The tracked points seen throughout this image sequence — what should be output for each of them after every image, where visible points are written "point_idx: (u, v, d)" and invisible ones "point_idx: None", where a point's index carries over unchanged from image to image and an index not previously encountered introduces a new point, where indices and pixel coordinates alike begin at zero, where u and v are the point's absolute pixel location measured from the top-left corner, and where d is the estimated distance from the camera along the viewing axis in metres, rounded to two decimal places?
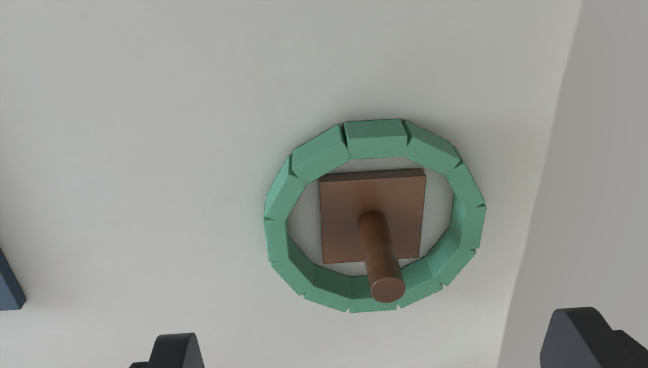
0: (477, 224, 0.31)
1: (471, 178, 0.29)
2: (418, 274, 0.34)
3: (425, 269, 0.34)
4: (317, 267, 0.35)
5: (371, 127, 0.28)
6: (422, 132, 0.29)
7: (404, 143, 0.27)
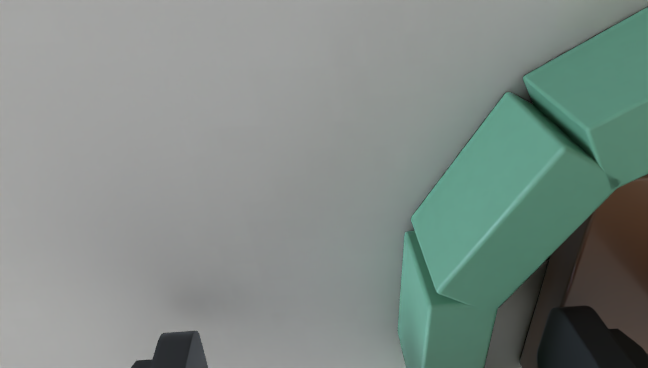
0: None
1: None
2: None
3: None
4: None
5: None
6: None
7: None
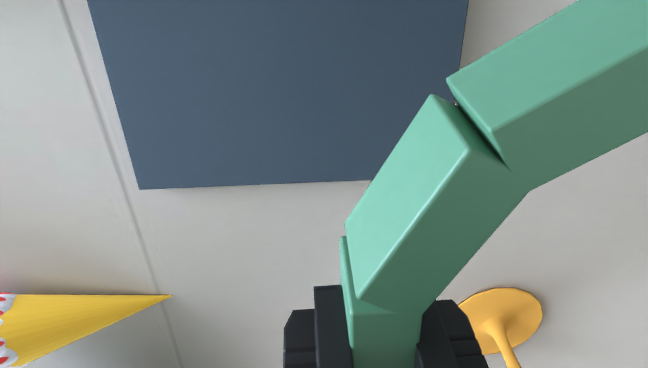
0: None
1: None
2: None
3: None
4: None
5: None
6: None
7: None
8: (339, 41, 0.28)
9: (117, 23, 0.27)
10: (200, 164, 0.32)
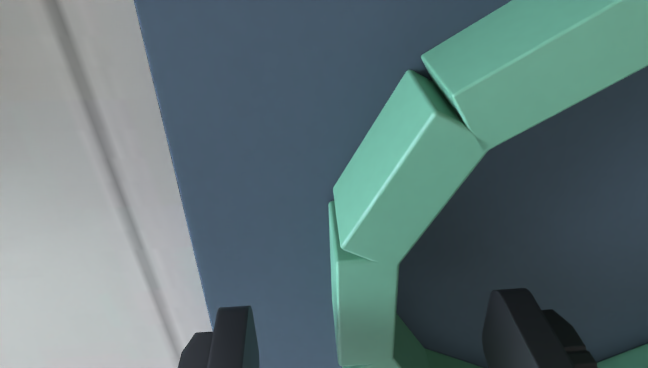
0: None
1: None
2: None
3: None
4: (435, 356, 0.15)
5: None
6: None
7: None
8: None
9: (245, 252, 0.13)
10: None
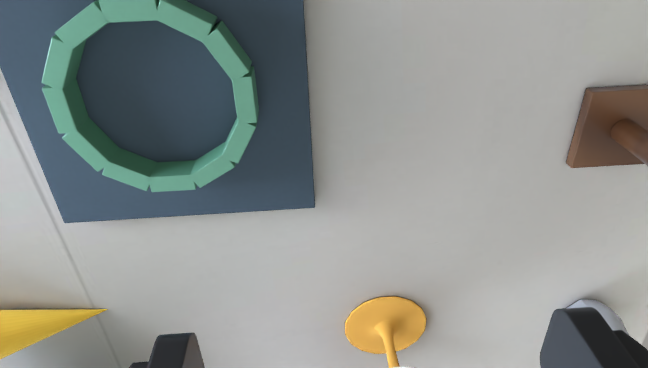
0: (248, 96, 0.33)
1: (228, 45, 0.31)
2: (214, 154, 0.37)
3: (220, 150, 0.37)
4: (122, 150, 0.37)
5: None
6: (181, 2, 0.31)
7: (153, 6, 0.30)
8: (210, 106, 0.36)
9: (32, 98, 0.35)
10: (112, 202, 0.40)
